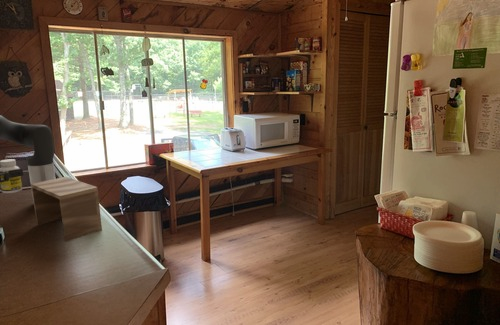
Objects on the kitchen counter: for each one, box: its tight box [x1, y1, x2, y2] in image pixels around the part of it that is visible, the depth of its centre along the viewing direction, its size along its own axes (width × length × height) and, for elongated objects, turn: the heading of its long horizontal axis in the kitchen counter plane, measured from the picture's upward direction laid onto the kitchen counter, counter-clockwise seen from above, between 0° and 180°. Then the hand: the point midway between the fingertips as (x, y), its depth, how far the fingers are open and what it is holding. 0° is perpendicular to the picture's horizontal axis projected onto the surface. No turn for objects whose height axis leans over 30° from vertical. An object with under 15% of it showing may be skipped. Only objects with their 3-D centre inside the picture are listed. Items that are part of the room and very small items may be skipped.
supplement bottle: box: [0, 158, 23, 194], centre depth 110 cm, size 5×5×10 cm
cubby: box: [30, 176, 103, 243], centre depth 124 cm, size 23×12×15 cm, turn 51°
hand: (18, 170), depth 112 cm, fingers closed on supplement bottle, 5 cm apart
